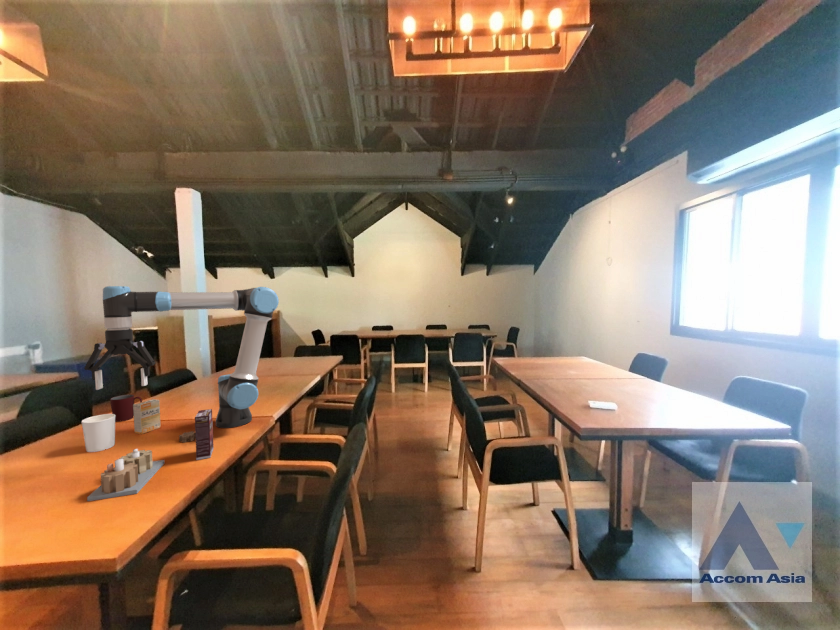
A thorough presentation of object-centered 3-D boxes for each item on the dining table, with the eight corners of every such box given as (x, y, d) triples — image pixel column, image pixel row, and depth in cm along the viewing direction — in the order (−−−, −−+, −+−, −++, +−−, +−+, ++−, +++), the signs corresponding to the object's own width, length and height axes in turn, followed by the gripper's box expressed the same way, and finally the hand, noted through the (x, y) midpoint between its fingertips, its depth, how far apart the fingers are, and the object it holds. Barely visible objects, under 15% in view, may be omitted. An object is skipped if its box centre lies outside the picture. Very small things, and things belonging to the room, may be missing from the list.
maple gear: (157, 462, 120) (156, 448, 119) (145, 473, 112) (144, 459, 111) (128, 466, 117) (127, 452, 117) (114, 478, 109) (113, 463, 109)
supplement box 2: (211, 457, 125) (209, 415, 124) (195, 460, 123) (193, 417, 122) (214, 448, 133) (212, 408, 132) (199, 451, 131) (197, 410, 130)
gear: (196, 435, 146) (196, 430, 146) (196, 440, 141) (196, 434, 141) (180, 438, 143) (179, 433, 143) (179, 443, 138) (178, 437, 138)
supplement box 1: (141, 434, 148) (139, 405, 147) (134, 433, 150) (132, 404, 149) (161, 427, 156) (159, 399, 155) (154, 426, 157) (152, 398, 157)
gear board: (164, 463, 122) (163, 437, 121) (137, 493, 103) (135, 463, 102) (123, 468, 118) (122, 442, 118) (87, 501, 99) (85, 470, 98)
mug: (145, 414, 175) (144, 393, 174) (139, 419, 167) (137, 397, 166) (116, 417, 170) (115, 395, 170) (108, 423, 162) (106, 400, 162)
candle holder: (96, 454, 130) (94, 423, 129) (76, 452, 132) (74, 421, 131) (123, 443, 139) (121, 414, 139) (104, 441, 141) (102, 413, 141)
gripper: (163, 326, 131) (166, 381, 132) (82, 329, 123) (86, 387, 124) (155, 328, 123) (158, 386, 124) (68, 331, 116) (72, 392, 117)
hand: (122, 387), depth 124 cm, fingers open, 13 cm apart
